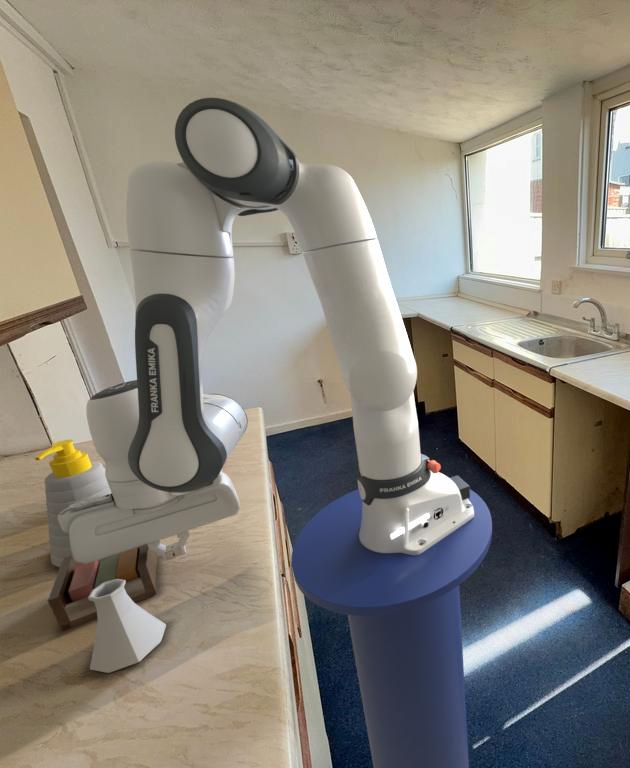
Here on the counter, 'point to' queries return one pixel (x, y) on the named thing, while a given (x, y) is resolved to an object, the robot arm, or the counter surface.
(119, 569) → the tray
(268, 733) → the counter surface
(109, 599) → the flask
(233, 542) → the counter surface
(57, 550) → the soap bottle
